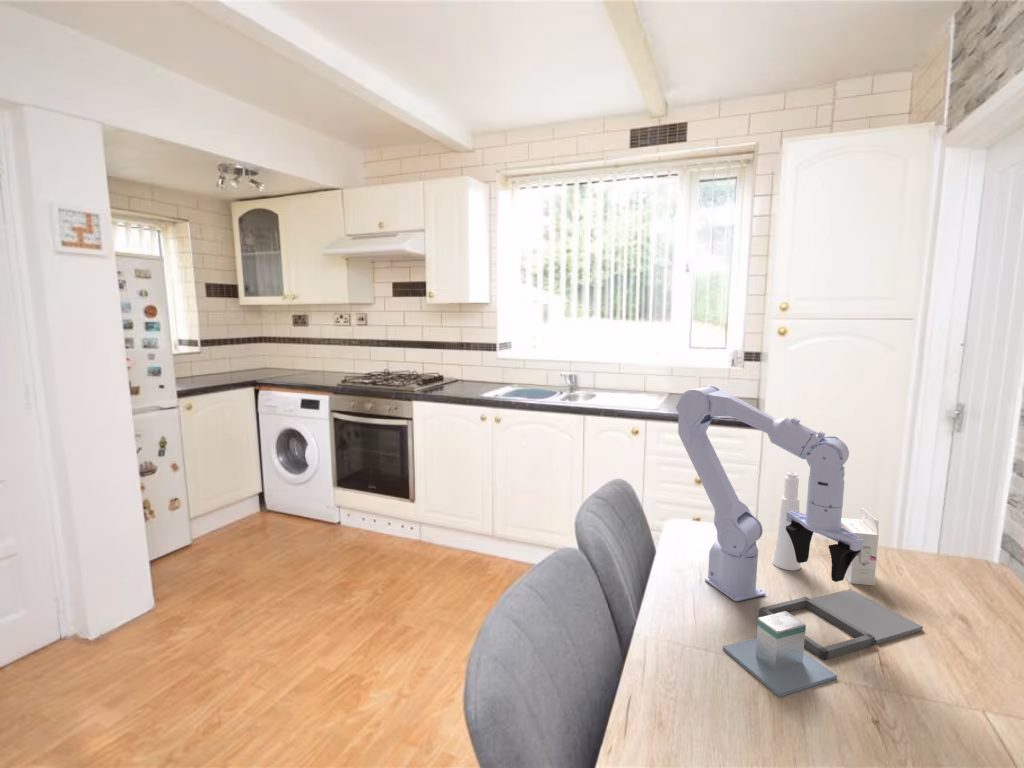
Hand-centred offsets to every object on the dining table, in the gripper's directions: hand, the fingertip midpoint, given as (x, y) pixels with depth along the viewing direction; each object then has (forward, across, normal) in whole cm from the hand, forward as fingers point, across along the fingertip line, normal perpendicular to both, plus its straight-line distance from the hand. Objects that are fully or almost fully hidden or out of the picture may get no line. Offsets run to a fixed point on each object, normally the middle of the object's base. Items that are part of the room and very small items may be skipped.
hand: (819, 570), depth 98 cm
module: (+9, -8, +18) cm, 21 cm away
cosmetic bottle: (+10, +18, -12) cm, 24 cm away
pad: (+9, -8, +18) cm, 22 cm away
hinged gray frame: (+9, -3, -2) cm, 10 cm away
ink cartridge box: (+10, +9, -22) cm, 26 cm away
